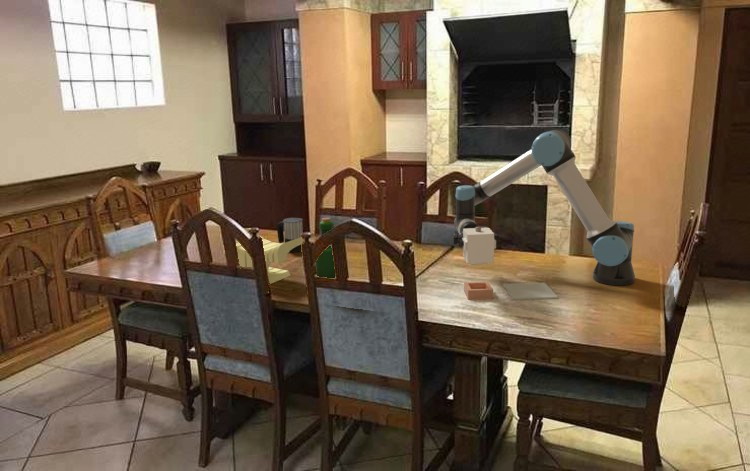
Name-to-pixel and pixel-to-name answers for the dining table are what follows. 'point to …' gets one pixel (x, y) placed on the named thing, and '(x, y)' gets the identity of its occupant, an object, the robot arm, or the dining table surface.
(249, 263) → the slatted curved stool
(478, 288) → the dish
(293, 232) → the milk frother
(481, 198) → the robot arm
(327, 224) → the bottle
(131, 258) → the dining table surface
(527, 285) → the mat
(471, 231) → the cover
